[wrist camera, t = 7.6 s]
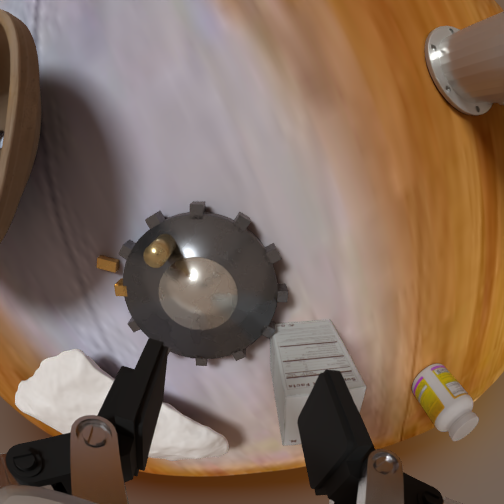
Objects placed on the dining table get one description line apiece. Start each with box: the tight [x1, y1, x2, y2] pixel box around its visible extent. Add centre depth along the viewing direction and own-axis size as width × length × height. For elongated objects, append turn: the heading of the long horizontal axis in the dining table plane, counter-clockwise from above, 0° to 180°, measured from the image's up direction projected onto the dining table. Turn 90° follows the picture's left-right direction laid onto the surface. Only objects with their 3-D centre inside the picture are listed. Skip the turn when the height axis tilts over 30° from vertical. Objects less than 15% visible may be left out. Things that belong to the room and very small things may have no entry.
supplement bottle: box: [412, 364, 479, 441], centre depth 32 cm, size 7×7×13 cm
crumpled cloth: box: [15, 349, 229, 461], centre depth 33 cm, size 24×35×9 cm
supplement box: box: [270, 320, 366, 445], centre depth 29 cm, size 7×7×13 cm
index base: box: [97, 255, 119, 273], centre depth 31 cm, size 14×5×1 cm, turn 77°
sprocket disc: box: [114, 202, 288, 366], centre depth 29 cm, size 18×18×6 cm
